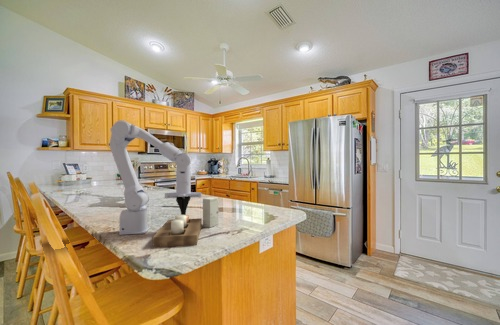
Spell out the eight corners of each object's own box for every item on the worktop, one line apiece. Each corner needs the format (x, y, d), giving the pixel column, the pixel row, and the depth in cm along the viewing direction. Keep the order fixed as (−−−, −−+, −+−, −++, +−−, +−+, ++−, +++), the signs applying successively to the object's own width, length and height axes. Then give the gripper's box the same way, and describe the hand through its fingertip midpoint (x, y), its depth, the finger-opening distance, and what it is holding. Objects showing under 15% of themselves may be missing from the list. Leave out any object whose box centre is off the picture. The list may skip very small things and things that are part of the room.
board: (153, 247, 71) (153, 237, 71) (168, 227, 93) (168, 219, 93) (196, 244, 73) (196, 235, 73) (201, 225, 95) (201, 218, 95)
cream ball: (174, 228, 80) (173, 217, 80) (176, 224, 85) (176, 214, 85) (185, 227, 81) (185, 217, 81) (187, 224, 85) (187, 214, 85)
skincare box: (210, 227, 92) (210, 199, 92) (202, 226, 94) (202, 198, 94) (219, 224, 97) (219, 197, 97) (211, 222, 99) (211, 196, 99)
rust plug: (177, 227, 87) (177, 217, 87) (179, 224, 92) (179, 214, 92) (188, 226, 88) (188, 217, 88) (189, 223, 92) (189, 214, 92)
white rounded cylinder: (169, 234, 74) (169, 222, 74) (172, 230, 78) (172, 219, 78) (182, 233, 74) (182, 222, 74) (184, 229, 78) (184, 219, 78)
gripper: (162, 183, 85) (162, 218, 85) (200, 183, 87) (200, 216, 87) (166, 181, 92) (166, 213, 92) (201, 181, 94) (201, 212, 94)
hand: (183, 215), depth 90 cm, fingers closed
